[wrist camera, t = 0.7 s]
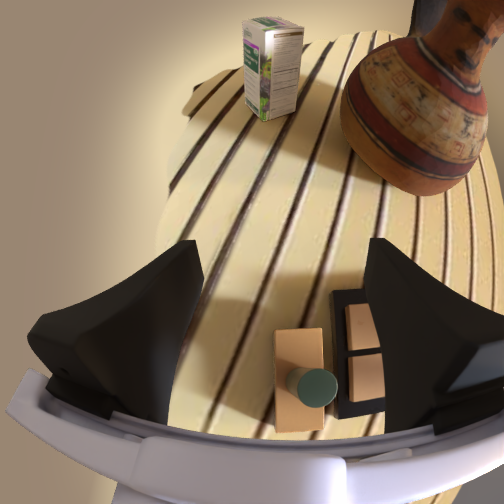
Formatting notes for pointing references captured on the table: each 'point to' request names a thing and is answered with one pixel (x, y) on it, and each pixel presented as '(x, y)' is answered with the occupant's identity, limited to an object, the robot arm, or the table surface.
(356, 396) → the chip
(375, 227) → the table surface
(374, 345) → the chip
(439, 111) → the ceramic pitcher
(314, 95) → the table surface
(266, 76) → the syrup box
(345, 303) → the enamel panel
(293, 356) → the brush
